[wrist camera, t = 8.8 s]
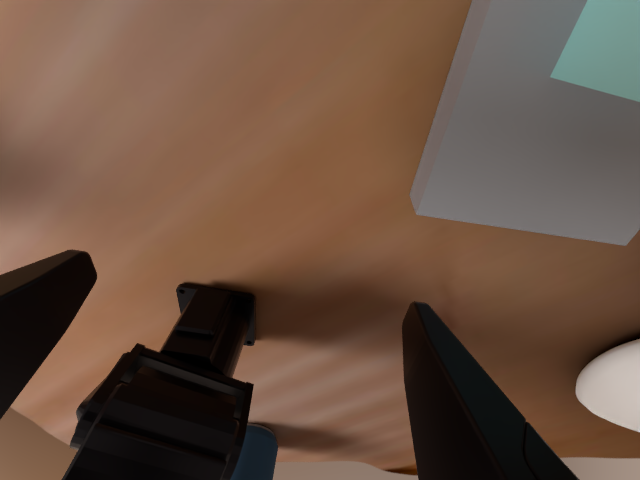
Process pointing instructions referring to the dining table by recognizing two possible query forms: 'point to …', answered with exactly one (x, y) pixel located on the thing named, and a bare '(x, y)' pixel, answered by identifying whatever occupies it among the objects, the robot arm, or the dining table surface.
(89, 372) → the dining table surface
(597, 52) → the teal cube
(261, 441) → the soda can
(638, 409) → the flower in vase
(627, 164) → the slate board
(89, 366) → the dining table surface
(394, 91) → the dining table surface
